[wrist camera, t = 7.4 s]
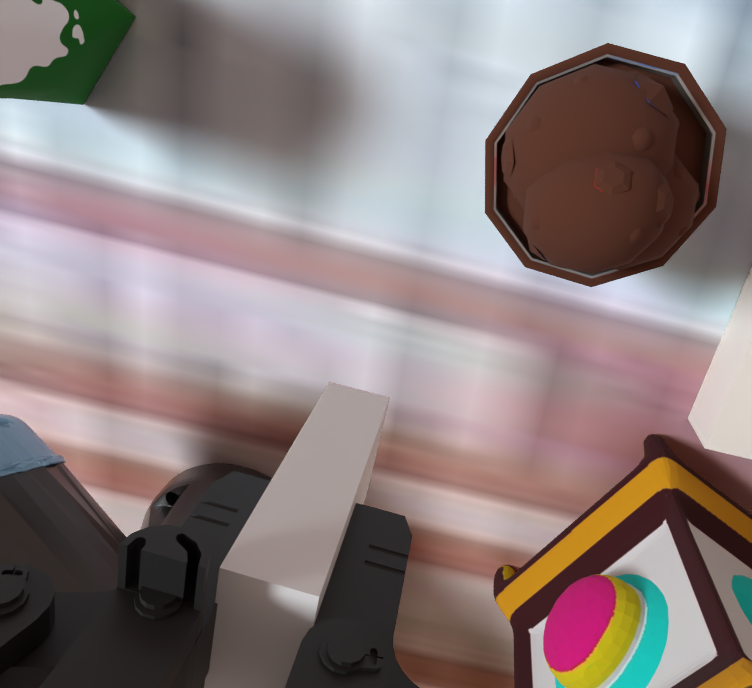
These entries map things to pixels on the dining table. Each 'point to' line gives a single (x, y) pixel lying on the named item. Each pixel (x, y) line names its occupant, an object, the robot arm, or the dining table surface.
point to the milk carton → (57, 46)
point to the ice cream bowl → (603, 165)
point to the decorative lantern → (638, 589)
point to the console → (729, 386)
